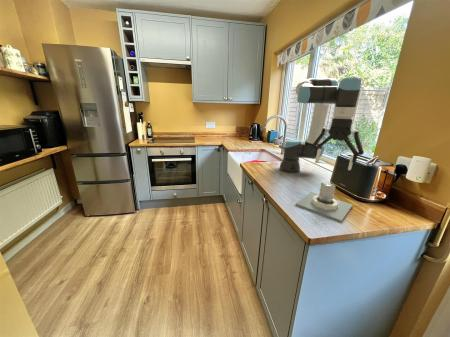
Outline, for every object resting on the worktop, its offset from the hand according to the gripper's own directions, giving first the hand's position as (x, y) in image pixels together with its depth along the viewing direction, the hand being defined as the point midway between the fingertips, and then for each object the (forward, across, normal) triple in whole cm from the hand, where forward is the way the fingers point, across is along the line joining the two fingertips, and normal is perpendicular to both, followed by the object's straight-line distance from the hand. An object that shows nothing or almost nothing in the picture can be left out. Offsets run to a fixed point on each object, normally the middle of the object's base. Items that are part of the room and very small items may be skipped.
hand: (332, 166), depth 86 cm
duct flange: (+20, 0, 0) cm, 20 cm away
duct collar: (+19, 0, 0) cm, 19 cm away
